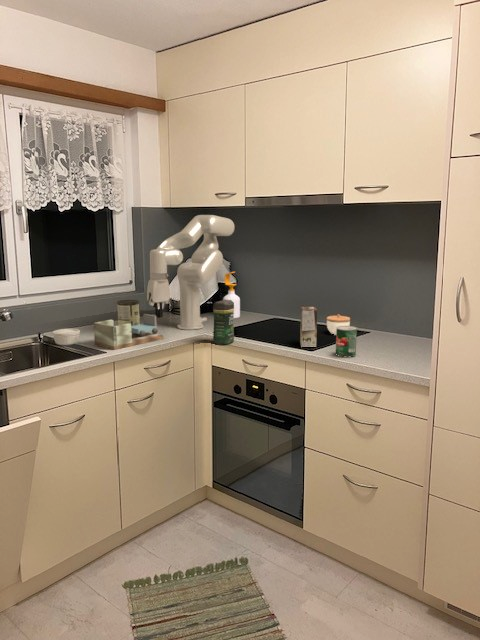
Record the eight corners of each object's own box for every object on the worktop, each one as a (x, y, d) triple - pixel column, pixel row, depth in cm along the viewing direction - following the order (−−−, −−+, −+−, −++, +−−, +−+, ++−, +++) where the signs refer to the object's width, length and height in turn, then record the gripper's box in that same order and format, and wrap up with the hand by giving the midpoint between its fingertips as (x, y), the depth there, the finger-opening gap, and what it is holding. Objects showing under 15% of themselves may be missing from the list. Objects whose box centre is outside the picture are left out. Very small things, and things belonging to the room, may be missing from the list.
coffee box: (316, 348, 222) (317, 310, 219) (301, 348, 222) (302, 309, 219) (314, 342, 231) (315, 306, 228) (299, 342, 231) (300, 306, 228)
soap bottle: (234, 319, 282) (233, 272, 278) (219, 317, 287) (219, 271, 282) (243, 316, 290) (243, 271, 285) (229, 314, 295) (229, 270, 290)
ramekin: (85, 340, 236) (84, 328, 235) (72, 346, 225) (71, 334, 224) (62, 339, 238) (61, 327, 237) (48, 345, 228) (47, 333, 227)
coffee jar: (227, 346, 225) (227, 302, 222) (210, 344, 229) (210, 301, 225) (237, 341, 234) (236, 299, 230) (220, 339, 237) (220, 298, 234)
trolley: (144, 330, 245) (143, 313, 243) (158, 333, 238) (157, 316, 237) (126, 333, 238) (125, 316, 236) (140, 337, 231) (139, 319, 229)
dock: (143, 334, 247) (142, 314, 245) (163, 338, 238) (162, 318, 236) (94, 344, 228) (93, 322, 226) (114, 349, 219) (113, 327, 217)
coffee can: (122, 327, 261) (120, 299, 259) (142, 328, 260) (141, 299, 258) (115, 332, 251) (113, 302, 249) (136, 333, 250) (135, 303, 248)
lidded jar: (354, 334, 247) (355, 314, 245) (339, 337, 240) (339, 317, 238) (336, 330, 255) (337, 311, 253) (321, 333, 248) (321, 313, 246)
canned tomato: (332, 355, 210) (333, 328, 208) (339, 351, 216) (340, 324, 214) (351, 358, 206) (352, 330, 204) (358, 354, 212) (359, 326, 210)
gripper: (165, 275, 249) (166, 314, 252) (140, 277, 238) (140, 318, 241) (176, 276, 244) (176, 316, 247) (150, 278, 233) (151, 320, 236)
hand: (159, 317), depth 244 cm, fingers closed
